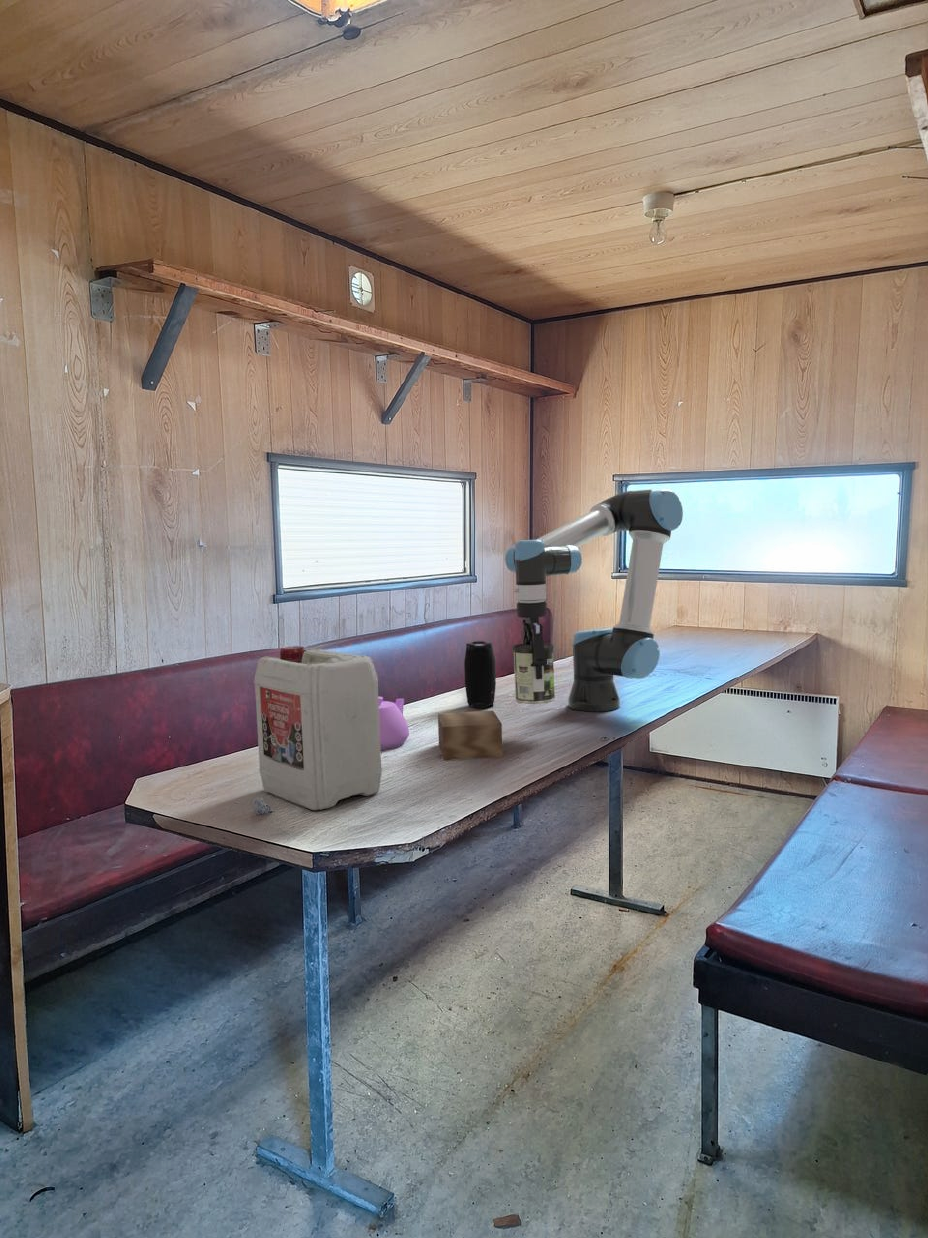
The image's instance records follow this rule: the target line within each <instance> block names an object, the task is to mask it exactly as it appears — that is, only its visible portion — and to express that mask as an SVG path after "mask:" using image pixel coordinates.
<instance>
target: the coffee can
mask: <svg viewBox="0 0 928 1238" xmlns="http://www.w3.org/2000/svg"><path fill="white" fill-rule="evenodd" d="M543 643H544V654H545V662H546V663H545V665H544V691H541V692H533V674H532V667H531V666H530V665H531V663H533V658H532V649H531V645H526V644H523V643H518V644H516V645H513V646H512V649H513V668H514V669H513V670H514V672H513V673H514V690H515V692H514V693H515V694H514V695H515V699H514V700H515V702H517V703H520V704H527V705H538V704H540V705H541V704H548V703H551V702H554V701H555V699H556V698H555V675H554V670H555V669H554V645H553V644H552V643H547V642H543ZM533 650H534V649H533Z"/></svg>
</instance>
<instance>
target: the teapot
mask: <svg viewBox="0 0 928 1238" xmlns="http://www.w3.org/2000/svg"><path fill="white" fill-rule="evenodd" d="M404 703H405V699H404V698H397V699H395V702H392V701H387V700H384V697H383V696H379V695H378V704H379V730H380V751H382V750H390V749H394V748H398V747H400V746H402V745H403V744H404V743H405V742H406V740H407V739H408V737H409V736H410V729H409V725H408V722H407V720H406V717H405V716H404V705H405V704H404Z"/></svg>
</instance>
